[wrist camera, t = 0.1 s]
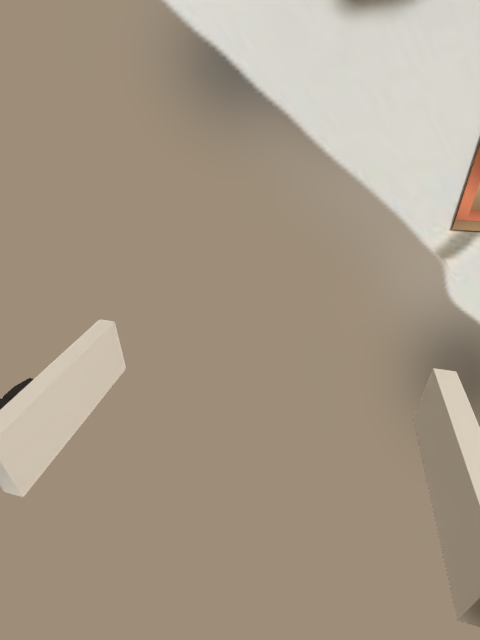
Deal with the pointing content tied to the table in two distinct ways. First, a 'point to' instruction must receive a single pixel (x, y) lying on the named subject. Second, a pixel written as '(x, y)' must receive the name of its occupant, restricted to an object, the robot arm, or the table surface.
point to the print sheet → (470, 201)
